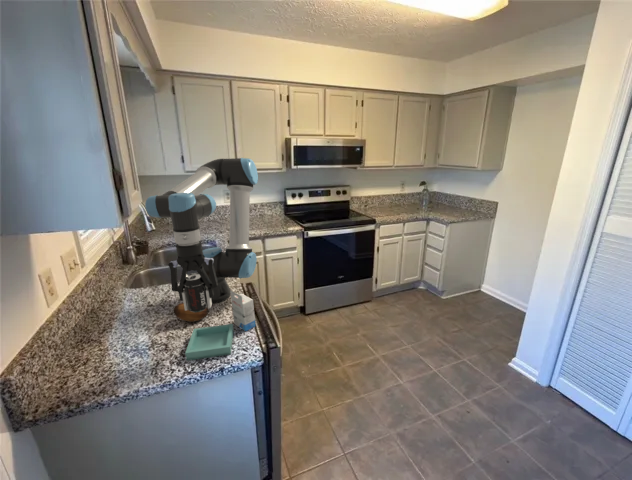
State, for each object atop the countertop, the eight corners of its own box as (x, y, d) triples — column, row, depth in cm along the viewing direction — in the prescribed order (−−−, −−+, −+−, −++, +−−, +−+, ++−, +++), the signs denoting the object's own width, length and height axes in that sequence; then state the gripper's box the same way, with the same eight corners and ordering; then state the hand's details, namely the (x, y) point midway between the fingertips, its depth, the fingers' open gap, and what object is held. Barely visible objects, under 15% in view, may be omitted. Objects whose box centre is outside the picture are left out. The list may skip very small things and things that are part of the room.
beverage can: (184, 314, 95) (178, 280, 92) (192, 304, 102) (186, 272, 98) (205, 313, 95) (200, 280, 92) (211, 303, 102) (207, 271, 99)
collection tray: (195, 335, 108) (193, 328, 108) (233, 330, 111) (232, 323, 110) (186, 360, 95) (185, 353, 94) (230, 354, 98) (229, 346, 97)
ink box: (256, 326, 113) (253, 292, 109) (245, 332, 110) (241, 297, 106) (244, 318, 119) (240, 285, 115) (233, 323, 116) (229, 290, 111)
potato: (207, 323, 122) (207, 321, 115) (172, 321, 118) (170, 320, 111) (209, 304, 125) (210, 302, 118) (175, 303, 120) (173, 300, 113)
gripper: (150, 248, 87) (164, 316, 93) (218, 243, 90) (227, 309, 96) (159, 241, 94) (171, 304, 101) (222, 237, 97) (229, 299, 104)
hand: (198, 307), depth 98 cm, fingers closed on beverage can, 7 cm apart
